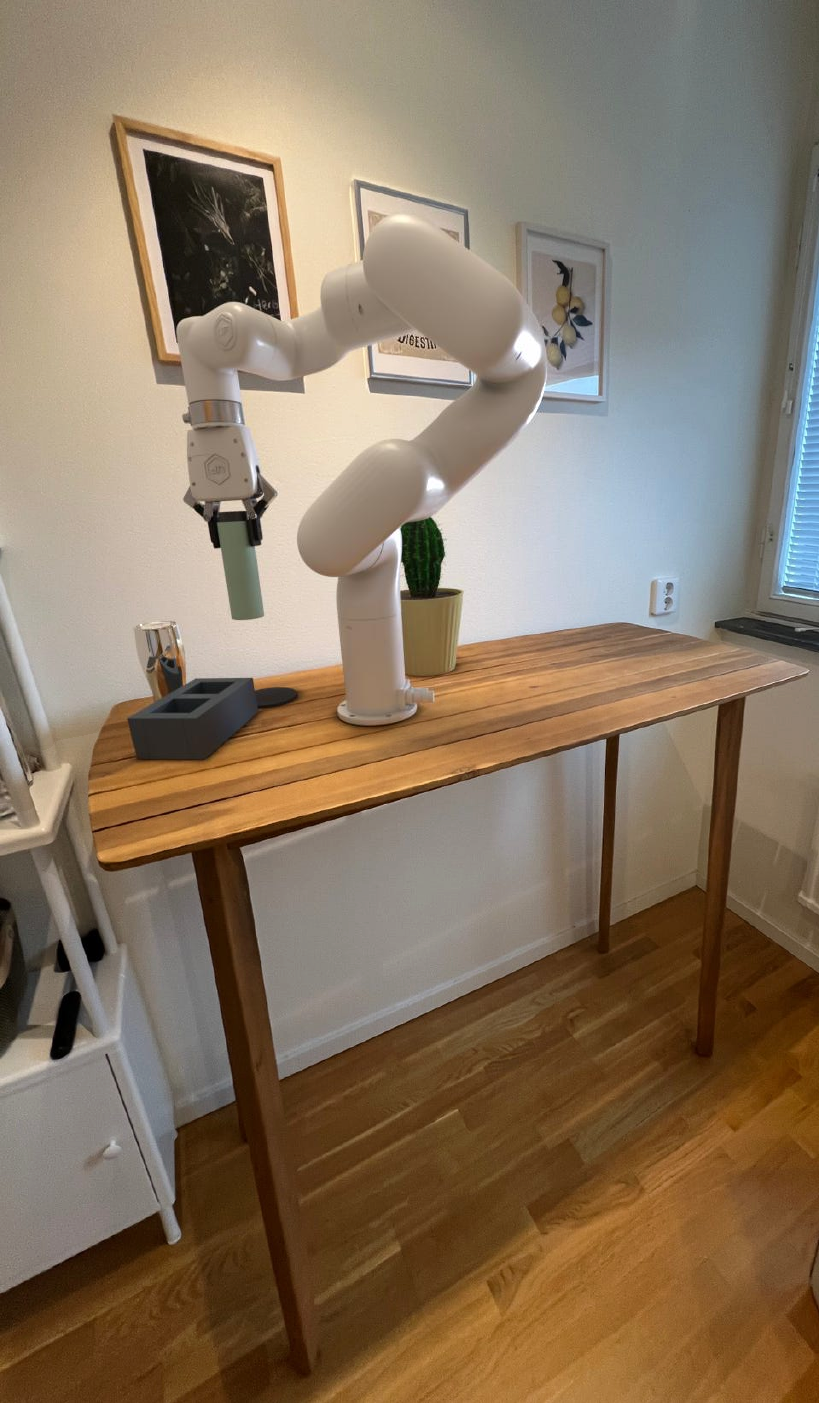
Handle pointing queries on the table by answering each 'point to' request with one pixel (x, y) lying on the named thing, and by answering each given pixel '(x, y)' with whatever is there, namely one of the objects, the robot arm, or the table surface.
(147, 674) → the chrome tumbler
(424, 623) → the potted cactus
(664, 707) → the table surface
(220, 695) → the holder
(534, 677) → the table surface
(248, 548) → the bottle
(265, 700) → the coaster
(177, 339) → the robot arm
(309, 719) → the table surface
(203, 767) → the table surface
